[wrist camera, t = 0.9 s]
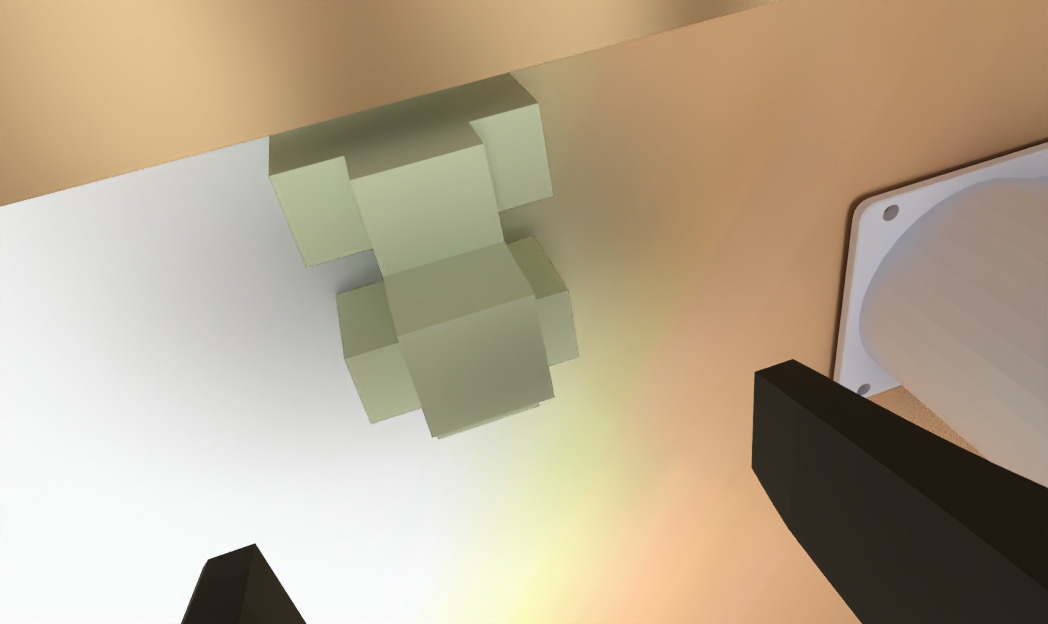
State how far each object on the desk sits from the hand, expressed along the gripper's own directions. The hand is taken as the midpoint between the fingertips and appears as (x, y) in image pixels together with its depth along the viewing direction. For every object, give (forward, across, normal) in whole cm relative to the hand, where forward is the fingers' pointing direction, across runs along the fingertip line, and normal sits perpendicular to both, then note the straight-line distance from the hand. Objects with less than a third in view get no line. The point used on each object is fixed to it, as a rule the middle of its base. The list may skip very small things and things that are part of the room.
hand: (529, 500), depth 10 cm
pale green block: (+9, 0, 0) cm, 9 cm away
